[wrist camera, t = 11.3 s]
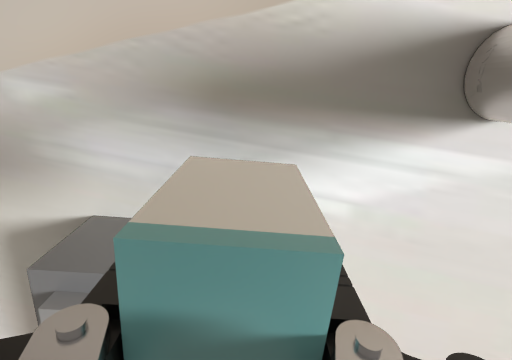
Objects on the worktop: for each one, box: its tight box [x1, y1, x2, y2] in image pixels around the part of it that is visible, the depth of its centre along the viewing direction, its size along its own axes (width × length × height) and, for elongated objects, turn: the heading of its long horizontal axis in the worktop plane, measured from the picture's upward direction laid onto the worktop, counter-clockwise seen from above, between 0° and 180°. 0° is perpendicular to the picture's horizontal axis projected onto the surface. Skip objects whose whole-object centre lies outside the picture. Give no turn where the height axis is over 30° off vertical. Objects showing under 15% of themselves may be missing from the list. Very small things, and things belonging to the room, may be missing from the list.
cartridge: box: [113, 156, 344, 360], centre depth 9 cm, size 4×6×6 cm, turn 175°
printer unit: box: [27, 216, 132, 326], centre depth 29 cm, size 15×16×12 cm
